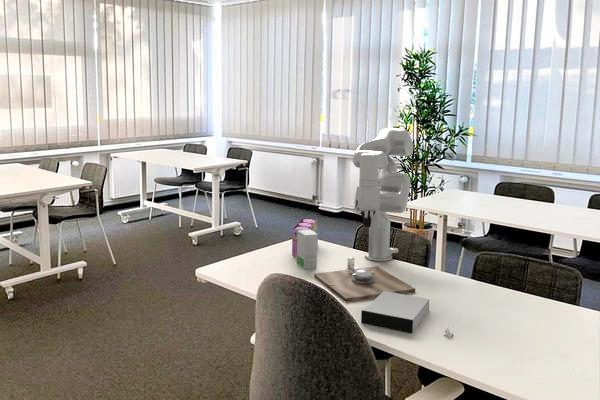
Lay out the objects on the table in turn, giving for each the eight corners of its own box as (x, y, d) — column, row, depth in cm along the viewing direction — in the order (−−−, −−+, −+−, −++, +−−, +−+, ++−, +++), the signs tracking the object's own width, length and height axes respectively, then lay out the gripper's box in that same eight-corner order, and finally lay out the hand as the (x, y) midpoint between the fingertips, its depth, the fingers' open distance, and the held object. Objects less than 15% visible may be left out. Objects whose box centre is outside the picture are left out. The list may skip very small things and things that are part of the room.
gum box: (302, 243, 291) (303, 217, 288) (318, 244, 289) (318, 218, 286) (291, 256, 268) (291, 228, 265) (308, 258, 266) (308, 229, 263)
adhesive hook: (446, 334, 187) (447, 325, 186) (454, 336, 185) (454, 327, 185) (442, 337, 185) (443, 328, 184) (450, 339, 183) (450, 330, 182)
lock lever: (377, 279, 229) (378, 266, 228) (356, 282, 226) (356, 269, 225) (359, 267, 244) (359, 255, 243) (339, 269, 240) (339, 258, 239)
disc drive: (360, 324, 194) (361, 310, 193) (382, 302, 213) (383, 290, 212) (411, 335, 186) (412, 320, 185) (429, 311, 206) (430, 298, 205)
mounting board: (377, 269, 250) (377, 263, 250) (415, 292, 223) (415, 286, 222) (314, 277, 239) (314, 271, 239) (345, 302, 212) (345, 295, 212)
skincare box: (296, 264, 256) (296, 230, 253) (309, 262, 259) (310, 228, 256) (304, 269, 249) (304, 234, 246) (317, 267, 252) (318, 233, 249)
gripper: (379, 180, 242) (378, 223, 246) (348, 182, 237) (346, 225, 240) (388, 183, 235) (387, 227, 239) (356, 185, 230) (355, 230, 233)
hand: (366, 226), depth 239 cm, fingers closed
